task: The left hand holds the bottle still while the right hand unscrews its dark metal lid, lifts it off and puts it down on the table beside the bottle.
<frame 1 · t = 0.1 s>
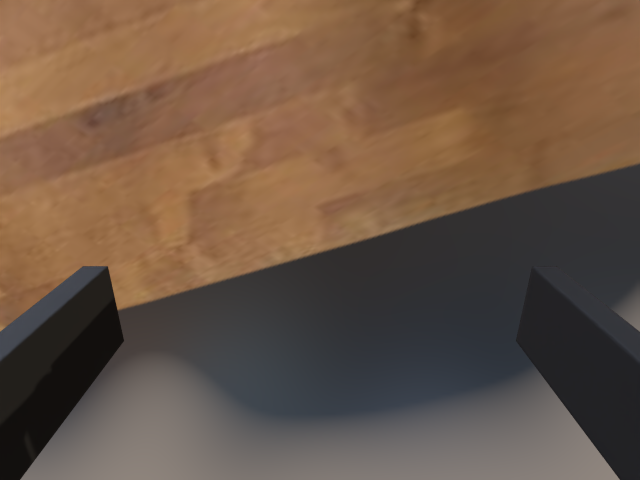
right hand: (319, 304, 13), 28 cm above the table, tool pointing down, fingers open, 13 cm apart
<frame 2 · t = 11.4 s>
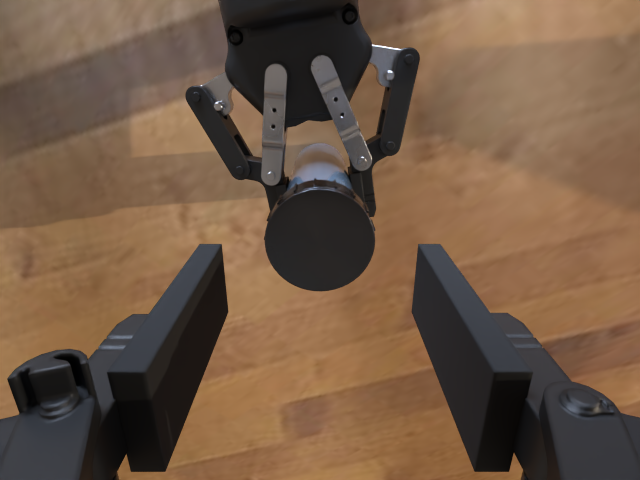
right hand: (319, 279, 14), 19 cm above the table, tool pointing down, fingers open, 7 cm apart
lid: (319, 239, 18), point 15 cm above the table, screwed on, not yet turned
bottle: (319, 168, 32), on the table, touching left hand
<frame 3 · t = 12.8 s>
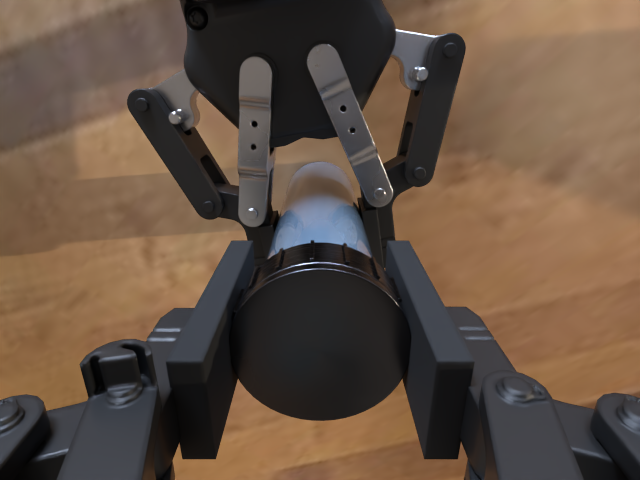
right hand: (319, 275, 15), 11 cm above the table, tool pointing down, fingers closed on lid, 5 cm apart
lid: (320, 343, 11), point 15 cm above the table, screwed on, not yet turned, touching right hand
bottle: (320, 194, 25), on the table, touching left hand
when the right hand's fingers open (0 cm above the table, at t = 22.3 s): lid drops 3 cm, point 1 cm above the table.
when the left hand's fingers open (6 cm above the table, at t = 23.4 s): bottle stays where it is, on the table.
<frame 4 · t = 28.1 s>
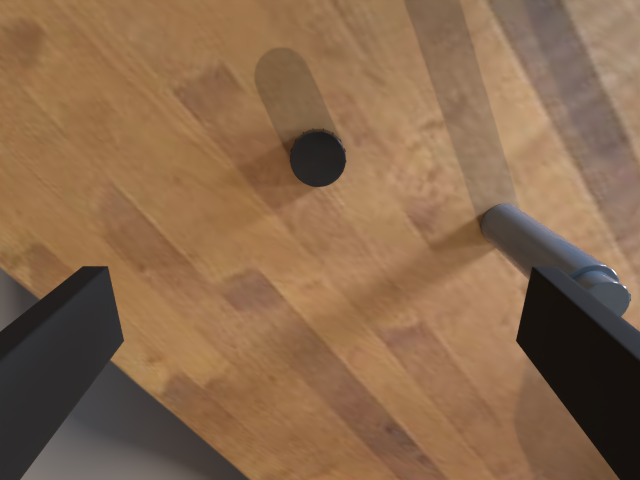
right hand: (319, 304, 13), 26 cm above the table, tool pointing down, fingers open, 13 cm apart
lid: (318, 159, 35), point 1 cm above the table, off its thread
bottle: (501, 223, 39), on the table
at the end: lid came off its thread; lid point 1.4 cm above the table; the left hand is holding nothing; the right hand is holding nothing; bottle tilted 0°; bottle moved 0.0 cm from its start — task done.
